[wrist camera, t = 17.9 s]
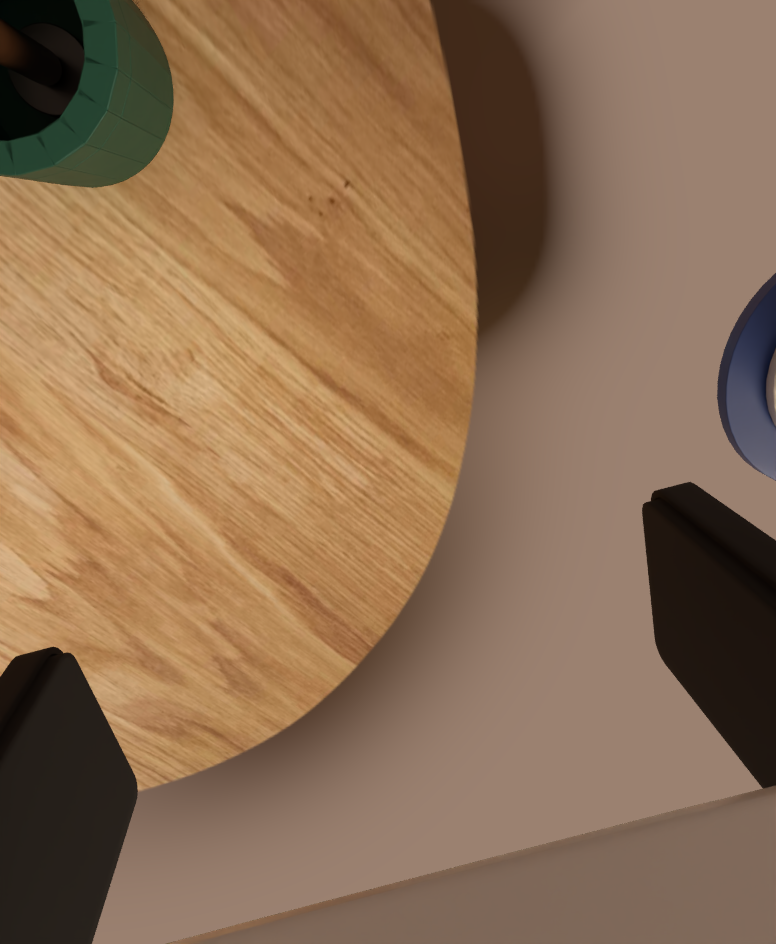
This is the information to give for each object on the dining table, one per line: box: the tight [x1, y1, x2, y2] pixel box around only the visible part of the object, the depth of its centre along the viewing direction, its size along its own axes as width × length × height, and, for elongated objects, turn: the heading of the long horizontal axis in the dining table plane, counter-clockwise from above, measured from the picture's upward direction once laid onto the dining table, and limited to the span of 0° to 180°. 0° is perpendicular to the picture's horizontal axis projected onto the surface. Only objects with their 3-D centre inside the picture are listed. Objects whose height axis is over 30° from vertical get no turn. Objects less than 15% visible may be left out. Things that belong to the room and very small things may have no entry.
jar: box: [0, 0, 173, 188], centre depth 30 cm, size 10×10×11 cm
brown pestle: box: [0, 18, 84, 119], centre depth 28 cm, size 4×4×16 cm
